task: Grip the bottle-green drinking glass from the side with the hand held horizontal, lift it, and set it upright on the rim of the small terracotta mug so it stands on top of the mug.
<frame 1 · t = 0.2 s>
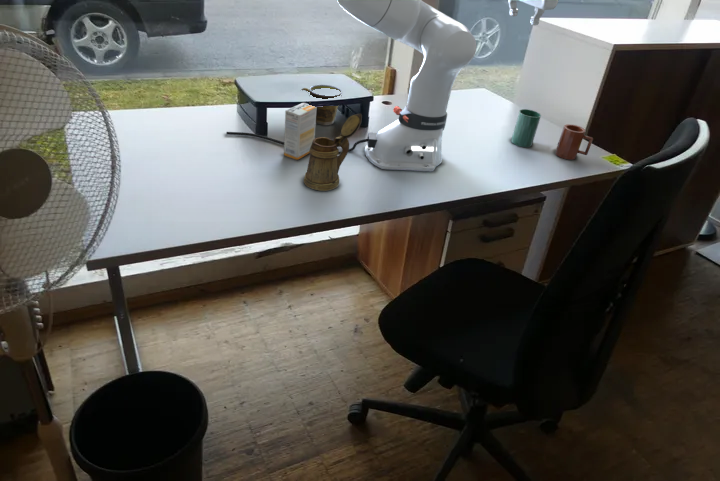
hand: (523, 20, 150), 39 cm above the table, tool pointing down, fingers open, 8 cm apart
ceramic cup: (318, 120, 178), on the table
supplement box: (298, 154, 156), on the table
mug: (565, 155, 177), on the table
glass: (521, 142, 182), on the table
wooden mug: (329, 182, 144), on the table
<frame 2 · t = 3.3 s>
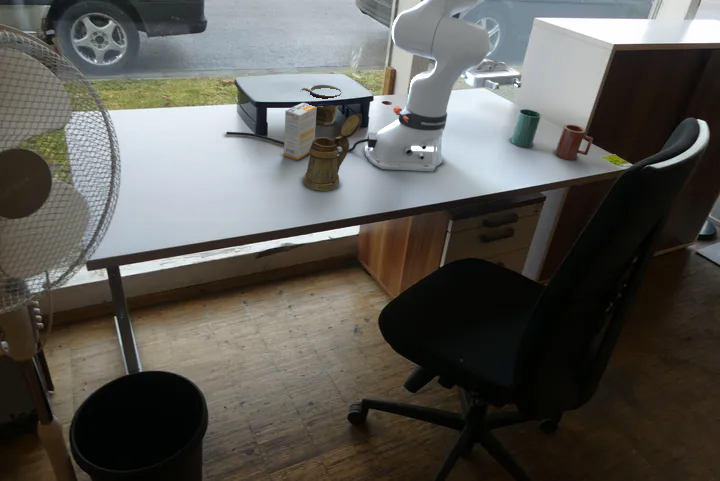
hand: (508, 86, 182), 14 cm above the table, tool horizontal, fingers open, 8 cm apart
nothing on the table moved.
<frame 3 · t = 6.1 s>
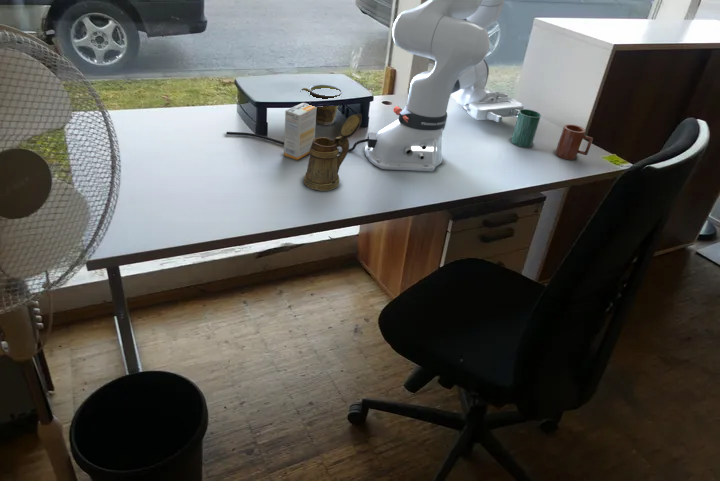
hand: (511, 118, 183), 5 cm above the table, tool horizontal, fingers open, 8 cm apart
nothing on the table moved.
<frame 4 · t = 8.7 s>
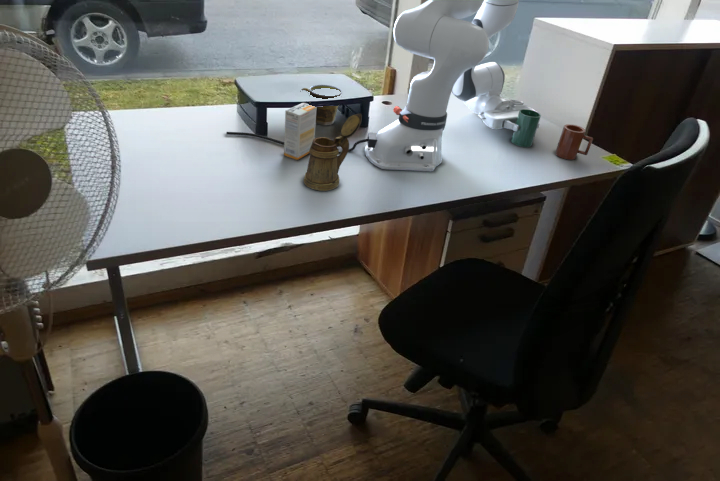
hand: (528, 127, 178), 6 cm above the table, tool horizontal, fingers closed on glass, 7 cm apart
glass: (521, 142, 182), on the table, touching gripper
everything else where it was.
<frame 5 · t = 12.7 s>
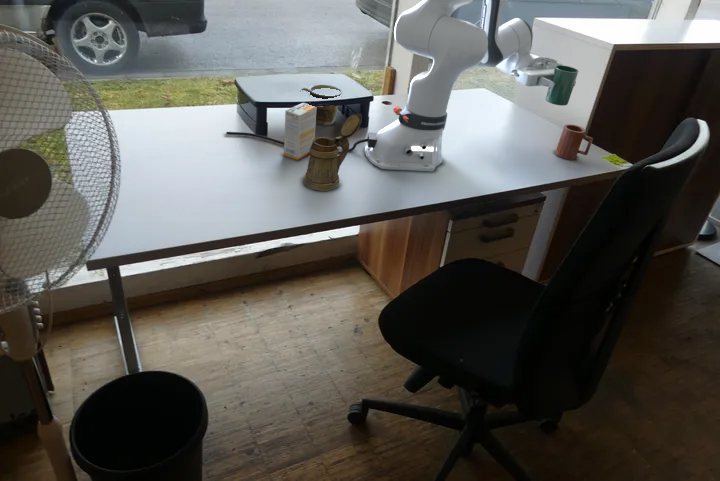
hand: (564, 84, 168), 21 cm above the table, tool horizontal, fingers closed on glass, 7 cm apart
glass: (556, 101, 171), point 15 cm above the table, touching gripper
everything else where it was.
when the fingers open (14 cm above the table, at t = 16.9 s): glass stays where it is, resting on mug.
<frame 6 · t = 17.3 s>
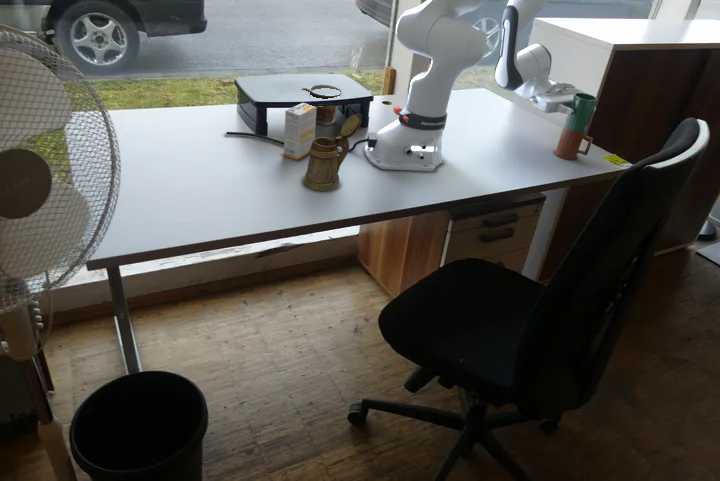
hand: (583, 111, 168), 15 cm above the table, tool horizontal, fingers open, 8 cm apart
glass: (574, 128, 172), point 9 cm above the table, touching mug
everything else where it was.
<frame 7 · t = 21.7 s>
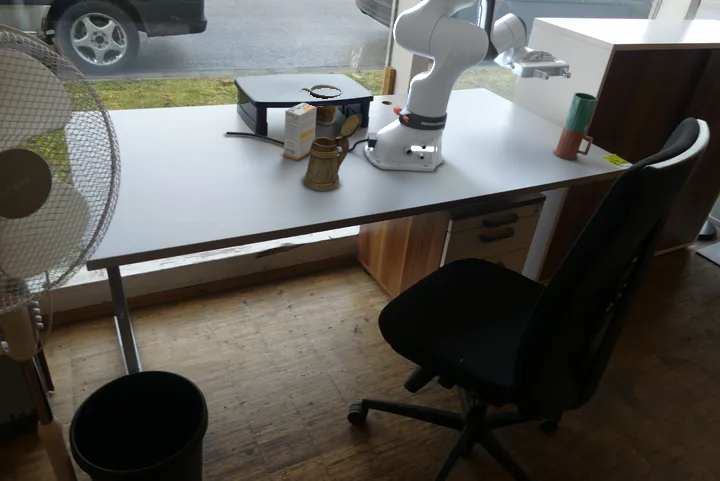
hand: (558, 76, 174), 21 cm above the table, tool horizontal, fingers open, 8 cm apart
nothing on the table moved.
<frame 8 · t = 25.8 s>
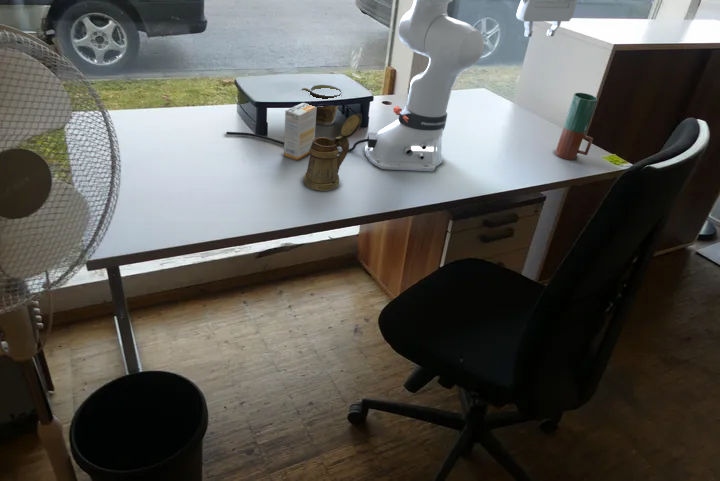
hand: (538, 36, 172), 31 cm above the table, tool pointing down, fingers open, 8 cm apart
nothing on the table moved.
at the end: glass 0.1 cm off-centre on the mug, point 9.0 cm above the mug's base; glass tilted 0°; the gripper is holding nothing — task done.
